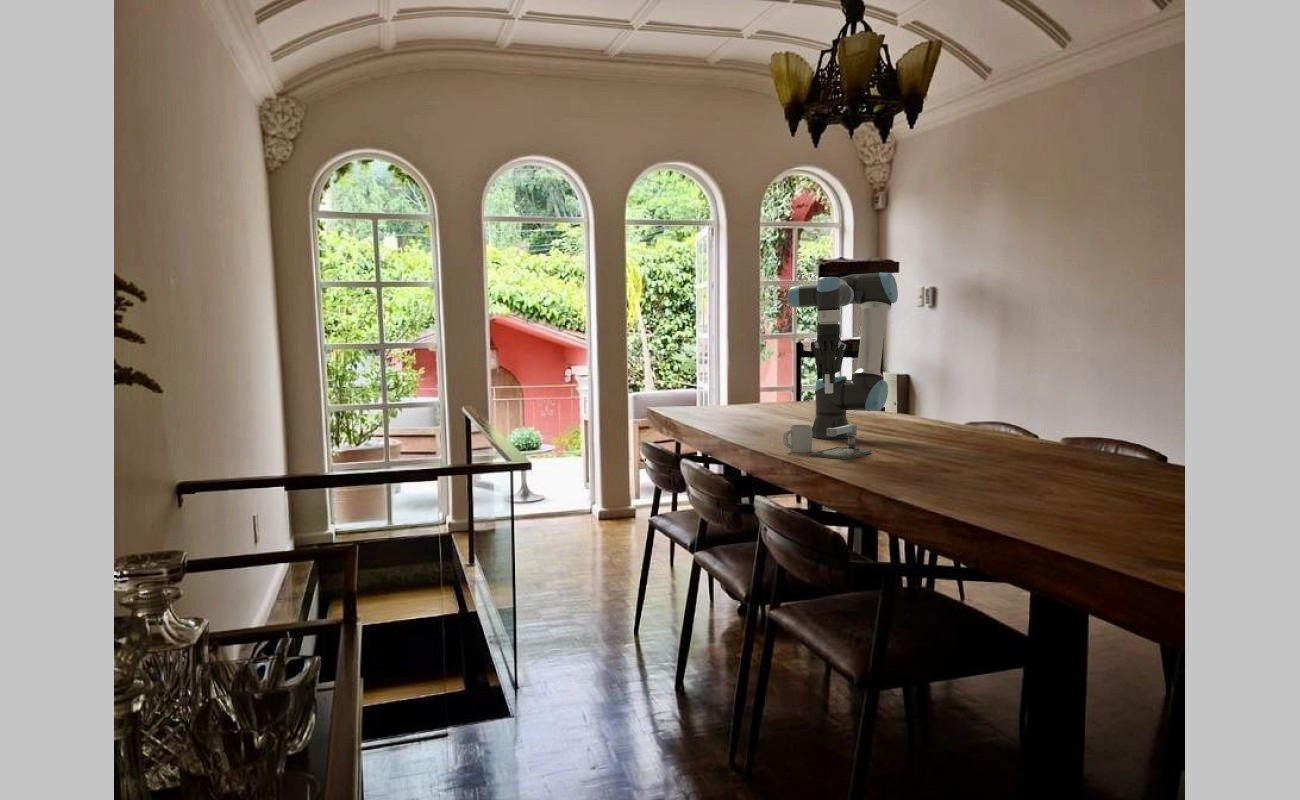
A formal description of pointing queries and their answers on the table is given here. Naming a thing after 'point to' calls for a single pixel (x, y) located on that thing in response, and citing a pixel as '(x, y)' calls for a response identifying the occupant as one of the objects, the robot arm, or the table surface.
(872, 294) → the robot arm
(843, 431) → the cable arm
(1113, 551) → the table surface
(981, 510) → the table surface
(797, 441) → the cup
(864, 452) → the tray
